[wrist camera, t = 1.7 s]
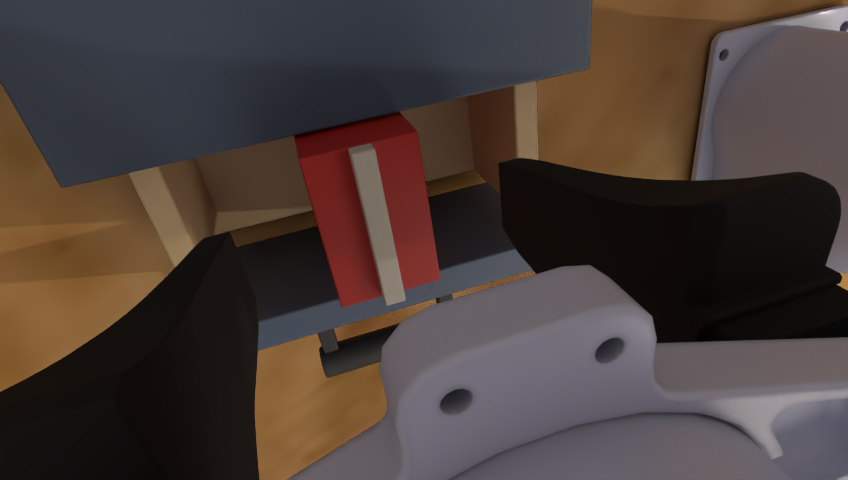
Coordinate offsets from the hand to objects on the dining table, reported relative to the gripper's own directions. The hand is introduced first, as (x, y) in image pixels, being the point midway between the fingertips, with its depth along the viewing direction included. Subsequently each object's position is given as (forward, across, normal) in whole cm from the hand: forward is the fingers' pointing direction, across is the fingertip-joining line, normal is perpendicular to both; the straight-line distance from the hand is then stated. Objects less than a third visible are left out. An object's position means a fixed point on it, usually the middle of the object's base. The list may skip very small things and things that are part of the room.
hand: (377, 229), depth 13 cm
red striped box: (+7, 0, 0) cm, 7 cm away
